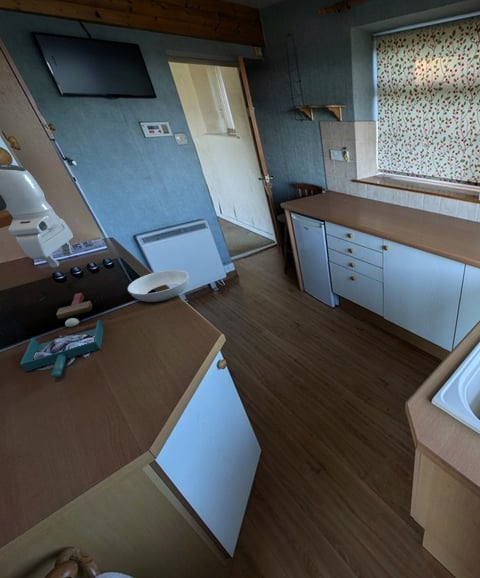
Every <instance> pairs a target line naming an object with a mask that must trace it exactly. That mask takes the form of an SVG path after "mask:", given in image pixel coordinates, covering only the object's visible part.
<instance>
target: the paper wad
mask: <svg viewBox="0 0 480 578" xmlns="http://www.w3.org/2000/svg"><path fill="white" fill-rule="evenodd" d="M78 324H80V320H79V319H78V318H75V317H71V318H67V319H66V321H65V322H64V325H65V327H67V328H71V327H74V326H77V325H78ZM75 328H76V327H74V329H75Z"/></svg>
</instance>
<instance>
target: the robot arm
mask: <svg viewBox="0 0 480 578" xmlns="http://www.w3.org/2000/svg"><path fill="white" fill-rule="evenodd" d="M2 211H6V212H8V213H9V214H10V215H11V217H12V219H11V223H10V226H9V227H8V229H7V230H8V232H9V234H10V235H11V236H15V238H16V241H17V244H18V245H19V247H20V248H21V249H22V251H23V252H24V254H25V255H26V256H27V257H28V258H30V259H32V260H42V261H44V262H46V263H48V265H49V266H50V268H58V267H59V266H60V265H61V263H60V262H59V260H58V259H55V258H54V255H53V254H54V253H56V251H58V250H59V249H60V248H61V249H62V251H61V252H62V254H63V256H65V257H69V256H72V255H73V254H74V253H73V251H72V248H71V243H70V240H72V239H73V238H74V234H73V231H72V230H71V228H70V227H69V225H68V224H67V223H66V221H65V220H64V219H63V218H60V217H59V215H58V214H56V212H55V210H54V208H53V207H52V206H51V205H50V204H49V203H48V201H47V200H46V197H45V193H44V191H43V189H42V188H41V186H40V185H39V182H37V180H36V179H35V177H34V176H33V175H32V174H31V173H30V172H29V171H28V170H27V169H26V168H24V167H22V166H19V165H16V164H9V163H8V164H7V163H0V212H2Z"/></svg>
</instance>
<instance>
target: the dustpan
mask: <svg viewBox="0 0 480 578" xmlns="http://www.w3.org/2000/svg"><path fill="white" fill-rule="evenodd" d="M104 330H105V326H104V324H103V323H102V322H101V320H100V319H98V320H96V325H95V328H92V329H89V330H85V331H82V332H78V333H75V334H73V335H78V334H86V335H90V336H93V335H95V337H94V342H91V343H87V344H84V345H81V346H77V347H74V348H71V349H67V350H64V351H61V352H57V353H54V354H51V355H47V356H44V357H41V358H37V359H34V360H33V358H34V355H35V353H36V352H37V351H41V350H43V349H44V348H45V346H46V345H48V344H49V343H51V342H52V341H53V340H50V341H46V342H43V343H39V342H38V340H37V339H36V338H35V337H32V338H31V339H30V341H29V343H28V345H27V347H26V350H25V352H24V354H23V356H22V358H21V360H20V363H19V366H20V367H21V368H22V369H23V370H24V371H25V372H30V371H34V370H36V369H35V368H37V369H39V368H38V367H41V366H44V367H46V366H45V365H47V366H49V365H48V364H50V365H52V364H51V363H54V362H55V363H54V364H53V368H52V370H51V373H50V377H51V378H53V379H58V378H60V377H61V376H62V375H63V371H64V367H65V364H66V360H68V359H67V358H70V357H73V358H75V357H74V356H76V357H78V356H77V355H79V356H81V355H80V354H82V355H84V354H83V353H86V354H88V353H87V352H89V353H91V352H90V351H92V352H95V351H99V350H101V348H102V344H103V343H102V342H103V338H104V337H103V336H104ZM70 359H71V358H70ZM41 368H42V367H41ZM33 369H34V370H33Z"/></svg>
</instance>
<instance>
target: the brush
mask: <svg viewBox="0 0 480 578" xmlns="http://www.w3.org/2000/svg"><path fill="white" fill-rule="evenodd" d="M84 299H85V295H84V294H83V293H82V292H79V293H74V296H73V300H72V302H71V305H67V306H63V307H60V308H58V309H57V312H56V317H57V319H58V320H62V319H67V318H70V317H73V316H77V315H81V314H85V313H89V312H92V310H93V305H94V304H93V303H92V302H91V300H88V301H84Z"/></svg>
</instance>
